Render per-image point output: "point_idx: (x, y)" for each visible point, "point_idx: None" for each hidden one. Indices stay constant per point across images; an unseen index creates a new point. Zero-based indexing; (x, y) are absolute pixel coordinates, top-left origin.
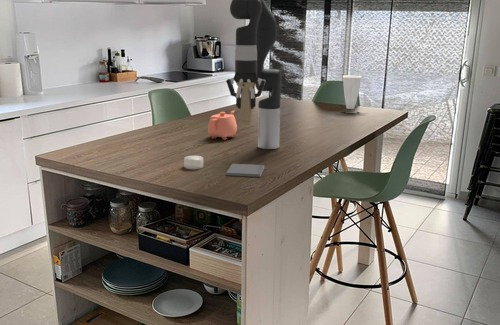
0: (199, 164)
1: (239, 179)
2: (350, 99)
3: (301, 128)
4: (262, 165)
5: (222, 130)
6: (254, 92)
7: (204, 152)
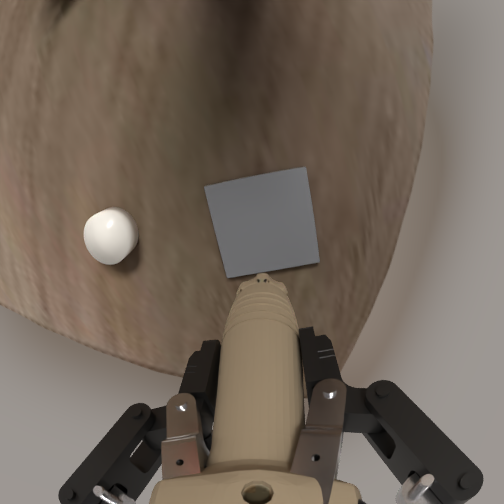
0: (132, 246)
1: None
2: None
3: None
4: (301, 172)
5: None
6: (339, 423)
7: (77, 88)
